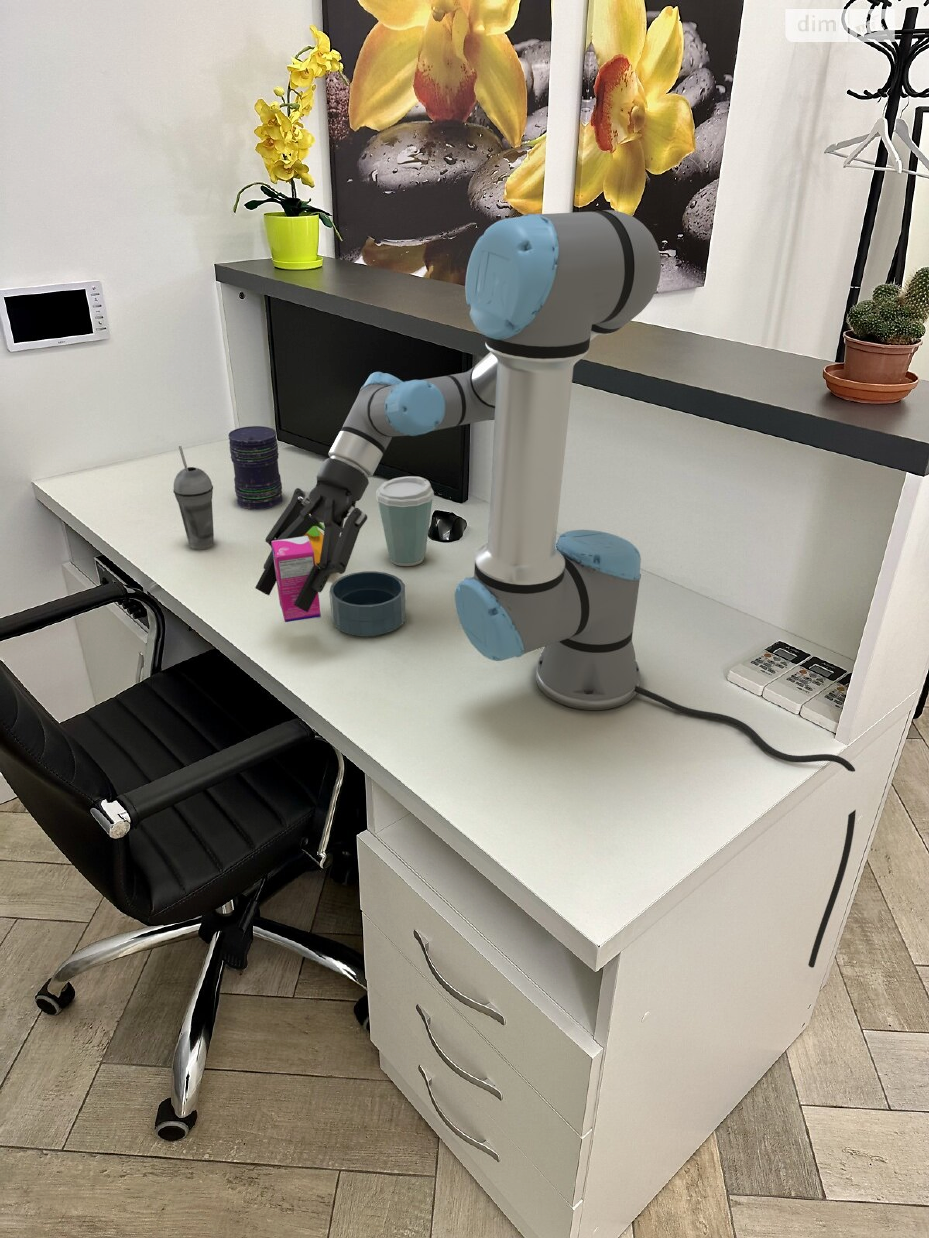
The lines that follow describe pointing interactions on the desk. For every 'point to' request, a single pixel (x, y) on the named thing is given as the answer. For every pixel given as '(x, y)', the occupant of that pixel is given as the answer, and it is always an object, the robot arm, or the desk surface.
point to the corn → (316, 541)
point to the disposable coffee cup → (405, 518)
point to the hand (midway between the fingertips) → (281, 600)
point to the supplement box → (294, 575)
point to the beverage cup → (195, 505)
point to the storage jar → (256, 467)
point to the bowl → (368, 603)
